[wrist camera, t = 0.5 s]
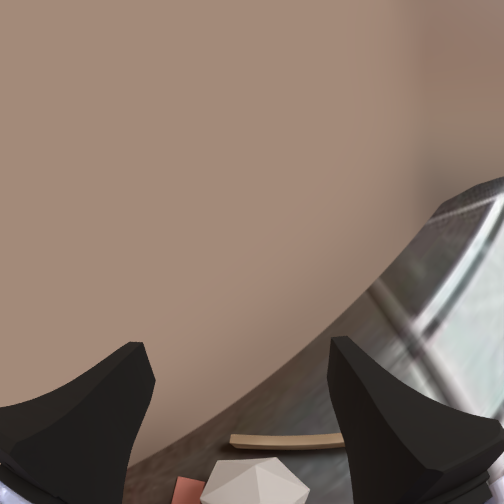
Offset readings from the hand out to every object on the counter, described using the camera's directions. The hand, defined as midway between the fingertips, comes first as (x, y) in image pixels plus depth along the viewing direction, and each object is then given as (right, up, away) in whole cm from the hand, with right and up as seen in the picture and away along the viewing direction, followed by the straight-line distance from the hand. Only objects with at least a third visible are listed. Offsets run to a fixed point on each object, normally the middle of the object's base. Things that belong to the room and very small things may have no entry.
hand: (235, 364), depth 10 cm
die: (+2, -19, +8) cm, 20 cm away
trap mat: (-6, -20, +9) cm, 23 cm away
